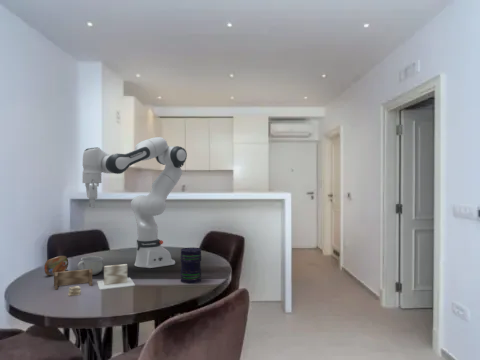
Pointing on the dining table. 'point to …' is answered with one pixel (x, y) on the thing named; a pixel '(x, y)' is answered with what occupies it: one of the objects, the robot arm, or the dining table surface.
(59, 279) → the frame
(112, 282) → the cream rectangular block
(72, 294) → the offcut mid
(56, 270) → the tin
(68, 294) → the offcut low
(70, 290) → the offcut top
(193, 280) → the storage jar
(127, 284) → the mat
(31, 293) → the dining table surface
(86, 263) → the teacup
